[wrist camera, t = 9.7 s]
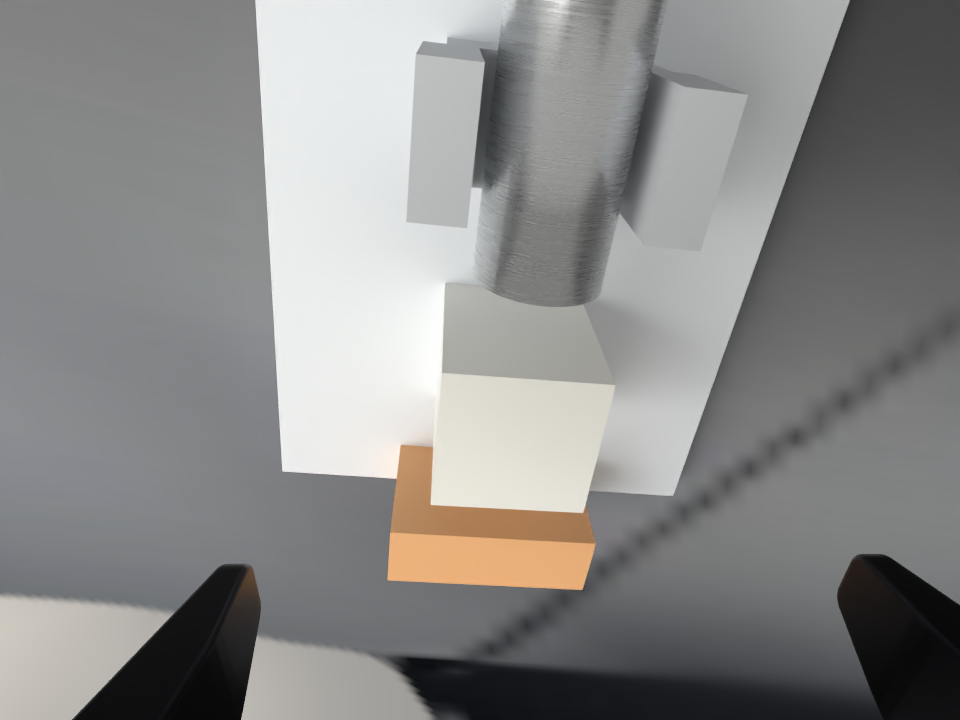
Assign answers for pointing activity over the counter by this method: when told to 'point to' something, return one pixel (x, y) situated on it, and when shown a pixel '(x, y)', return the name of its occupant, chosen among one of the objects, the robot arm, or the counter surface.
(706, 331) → the bearing rail
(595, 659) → the counter surface
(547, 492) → the block
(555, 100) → the shaft
